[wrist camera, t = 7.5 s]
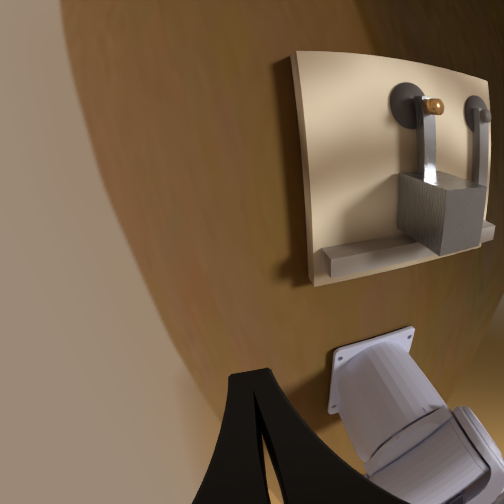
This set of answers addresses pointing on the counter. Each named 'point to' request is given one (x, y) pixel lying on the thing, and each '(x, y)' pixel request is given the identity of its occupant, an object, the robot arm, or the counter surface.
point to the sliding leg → (438, 194)
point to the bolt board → (377, 154)
